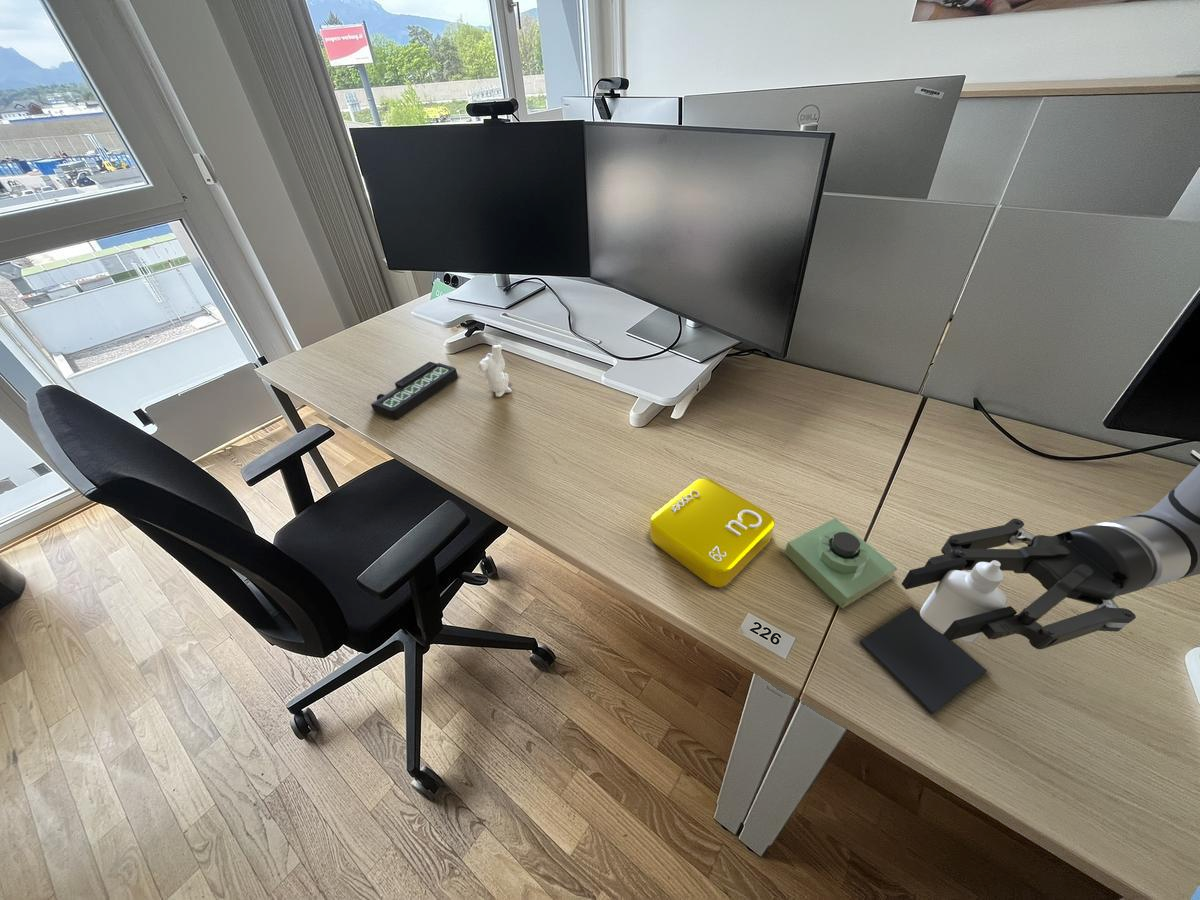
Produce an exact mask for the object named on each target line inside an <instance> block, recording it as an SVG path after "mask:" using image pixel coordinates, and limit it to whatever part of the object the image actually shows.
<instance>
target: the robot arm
mask: <svg viewBox="0 0 1200 900" xmlns="http://www.w3.org/2000/svg"><path fill="white" fill-rule="evenodd" d="M1024 526H1025V522H1024V521H1023V520H1022V519H1019V518H1012V519H1010V520H1009V521H1008V522H1006V523H1005V524H1003V525H998V526H997V525H996V526H993V527H987V528H982V529H977V530H972V531H967V532H962V533H957V534H956V533H955V534H952V535H950V536H949V537H948V538H947V540H946V541H945V543H944V545H943V546H942V547H941V549H940V552H941V554H940V555H936V556H932V557H931V556H930V558H928V560H927V561H926V563H925V565H924V566H921V567H916V568H912V569H909V570H908V573H907V574H906V575H905V577H904V579H903V580H902V582H901V585H902V587H903V588H904V589H905V590H910V589H914V588H918V587H922V586H925V585H930V584H935V583H939V582H940V580H941V579H942V578H943V576H944V575H945V574H946V573H947V572H948V571H950V570H960V571H971V570H972V569H973V568H974V566H975V565H976V564H977V563H979V562H988V563H990V562H992V561H993V560H996V561H998V562H1000V564H1001V565H1000V568H999V569H1000V570H1001V571H1002V572H1010V571H1011V572H1013V573H1014V574H1026V575H1027V574H1028V575H1030V576H1031V577H1033V578H1034V579H1036V580H1037V581H1038V582H1039V583H1040V585H1041V586H1042V587H1043V588H1044V589H1045V590H1046V591H1045V592H1044V593H1043V594H1041V595H1040V596H1039V597H1038V598H1036V599H1035V600H1034V601H1032V602H1031V603H1030V604H1029V605H1028V606H1026V607H1024V608H1022V610H1021V611H1020V612H1019V613H1018V612H1017V611H1016V609H1014V607H1013V606H1012V605H1009V606H1005V608H1001V609H997V610H993V611H990V612H986V613H982V614H978V615H974V616H971V617H967V618H963V619H959V620H955V621H954V622H953V623H952V624H951V625H950V627H949V628H948V629H947V630H946V631H945V633H944V634H943V635H944V636H945V637H946V638H947V639H948V641H951V640H952V641H955V640H954V639H958V638H962V637H965V636H969V635H973V634H977V633H980V632H983V635H984V636H985V637H986V638H987V639H988V640H998V639H1001V638H1005V637H1008V636H1009V637H1010V636H1013V635H1020V636H1023V637H1024V638H1026V639H1027V640H1028V643H1029V644H1030V645H1031V647H1033V648H1034V649H1036V650H1044V649H1047V648H1051V647H1053V646H1056V645H1059V644H1063V643H1066V642H1067V641H1071V640H1074V639H1078V638H1080V637H1083V636H1086V635H1090V634H1092V633H1095V632H1113V633H1115V632H1116V633H1117V632H1120V631H1121V630H1122V629H1123V628H1125V627H1126V626H1127V625H1129V624H1130V623H1132V622H1133V621H1134V620H1135V619H1136V618H1137V617H1136V614H1135V613H1134V612H1133V611H1132V610H1130V609H1127V608H1126V607H1125V608H1124V607H1119V605H1118V604H1117V603H1116V602H1115V600H1114V599H1115V598H1117V597H1119V596H1124V595H1127V594H1131V593H1134V592H1138V591H1140V590H1144V589H1148V588H1153V587H1156V586H1161V585H1164V584H1168V583H1172V582H1176V581H1179V580H1182V579H1185V578H1190V577H1193V576H1197V575H1200V462H1199V463H1198V464H1197V466H1195V467H1194V468H1193V470H1191V471H1190V473H1189V474H1188V475H1187V476H1186V477H1185V478H1184V479H1183V480H1182V481H1181V482H1180V483H1179V484H1178V485H1176V486H1175V487H1174V488H1173V489H1171V490H1170V491H1169V492H1168V493H1167V494H1165V496H1164V497H1162V498H1161V499H1160V501H1158V503H1156V504H1155V505H1154V506H1153V507H1152V508H1150V509H1148V510H1147V511H1143V512H1140V513H1136V514H1133V515H1129V516H1124V517H1121V518H1116V519H1112V520H1108V521H1103V522H1097V523H1095V524H1092V525H1087V526H1083V527H1079V528H1074V529H1071V530H1066V531H1063V532H1060V533H1057V534H1055V535H1045V534H1038V535H1036V534H1034V533H1032V532H1030V531H1028V530H1026V529H1025V528H1024ZM1019 543H1021V544H1025V545H1026V546H1021V547H1020V548H998V547H1001V546H1005V545H1007V544H1009V545H1011V546H1013V545H1015V544H1019ZM1066 598H1067V599H1071V600H1075V601H1079V602H1083V603H1085V604H1089V605H1094V606H1096V607H1095V608H1093V609H1092V610H1089V611H1085V612H1083V613H1080V614H1077V615H1074V616H1070V617H1068V618H1064V619H1061V620H1059V621H1055V622H1052V623H1049V624H1046V625H1041V623H1038V622H1037V621H1039V620H1040V619H1041V618H1042V617H1044V616H1045V615H1046V614H1048V613H1049V612H1050V611H1051V610H1052V609H1054V608H1055V607H1056V606H1058V605H1059V604H1060V603H1062V601H1064V600H1065V599H1066ZM1017 613H1018V614H1017ZM1190 898H1191V899H1190V900H1200V885H1199V886H1198V887H1197V888H1196V889H1195V891H1194V892H1193V894H1192V896H1191V897H1190Z"/></svg>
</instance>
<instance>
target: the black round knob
mask: <svg viewBox="0 0 1200 900" xmlns="http://www.w3.org/2000/svg"><path fill="white" fill-rule="evenodd" d="M830 548H831V550H832V552H833V553H834V554H835V555H837V556H839V557H841V558H844V559H851V558H854V557H855V556H856V554H857V552H858V550H859V548H860V542H859V540H858V539H857V538H856V537H855V536H854V535H852V534H850V533H847V532H838V533H836V534H835V535H834V536H833V538H832V541H831V543H830Z"/></svg>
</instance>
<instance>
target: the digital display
mask: <svg viewBox="0 0 1200 900" xmlns="http://www.w3.org/2000/svg"><path fill="white" fill-rule="evenodd" d="M458 378H459V375H458V372H457V368H456V367H454V366H450V365H447V364H443V363H441V362H437V363H436V362H434V361H428V362H426V363H424V364H423V365H421V366H419V367H417V368H416V369H415V370H414V371H413V370H412V372H410V373H408V374H407V375H406V376H403V377H402V378H400V379H399V380H397V381H396V382H394V385H395V388H393V390H391V391H389V392H388V393H386V394H384V393H379V394H377V396H376V400H375V401H373V402H372V403H371V404H370V406H371V408H372V411H373V412H374V413H376V414H379V415H382V416H384V417H387V418H389V419H392V420H394V421H395V420H399V419H401V418H402V417H403V416H405V415H406V414H408V413H409V412H411V411H412V410H414V409H415V408H416V407H418V406H419V405H421V404H422V403H423V402H425V401H426V400H428V399H430V398H431V397H432V396H434V395H435V394H437V393H438V392H439V391H442V389H444V388H445V387H447V386H449V385H450V384H451V383H453V382H454V381H455V380H457V379H458Z"/></svg>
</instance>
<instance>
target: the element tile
mask: <svg viewBox="0 0 1200 900" xmlns="http://www.w3.org/2000/svg"><path fill="white" fill-rule="evenodd" d="M649 522H650V527H649V529H650V531H649V533H650V534H649V535H650V536H649V537H650V539H651V541H652V542H653V543H654V545H656V546H657V547H658V548H660V549H661V550H663V551H664V552H665V553H666V554H668V555H669V556H671V557H672V558H673V559H675V560H676V561H677V562H679V563H680V564H681V565H682V566H684V567H685V568H686V569H688V570H689V571H690V572H692V573H693V574H694V575H696V576H697V577H699V579H701V580H702V581H704V582H705V583H706V584H707V585H709V586H711V587H714V588H723V587H725V586H727V585H729V584H730V583H731V582H732V581H733V580H734V579H735V577H736V576H738V575H739V574H740V572H741V571H743V569H744V568H746V566H747V565H748V564H749V563H750V562H751V561H752V560H753V559H754V558H755V557H756V556H757V555H758V554H759V553H760V552H762V550H763V549H764V548H765V547H766V546H767V545H768V544H769V542H770V541H771V538H772V534H773V532H774V527H775V523H776V521H775V517H773V516H772V514H770V513H769V512H767V510H764V509H763V508H761V507H759V506H758V505H756V504H754V503H752V502H751V501H749V500H747V499H745V498H744V497H742V496H740V495H739V494H737V493H735V491H734V492H733V491H732V490H730V489H729V488H727V487H725V486H723V485H721V484H720V483H718V482H717V481H715V480H713V479H711V478H707V477H702V478H699V479H696V480H695V481H694V482H692V483H691V484H690V485H689V486H687V487H686V488H685V489H683V490H682V491H681V492H680V493H678V494H677V495H676V496H675V497H673V498H672V499H671V500H670V501H669V502H667V503H665V504H664V505H663V506H662V507H661V508H660V509H658V510H657V511H656V512H654V514H653V515H652V516H651V518H650V521H649Z"/></svg>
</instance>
